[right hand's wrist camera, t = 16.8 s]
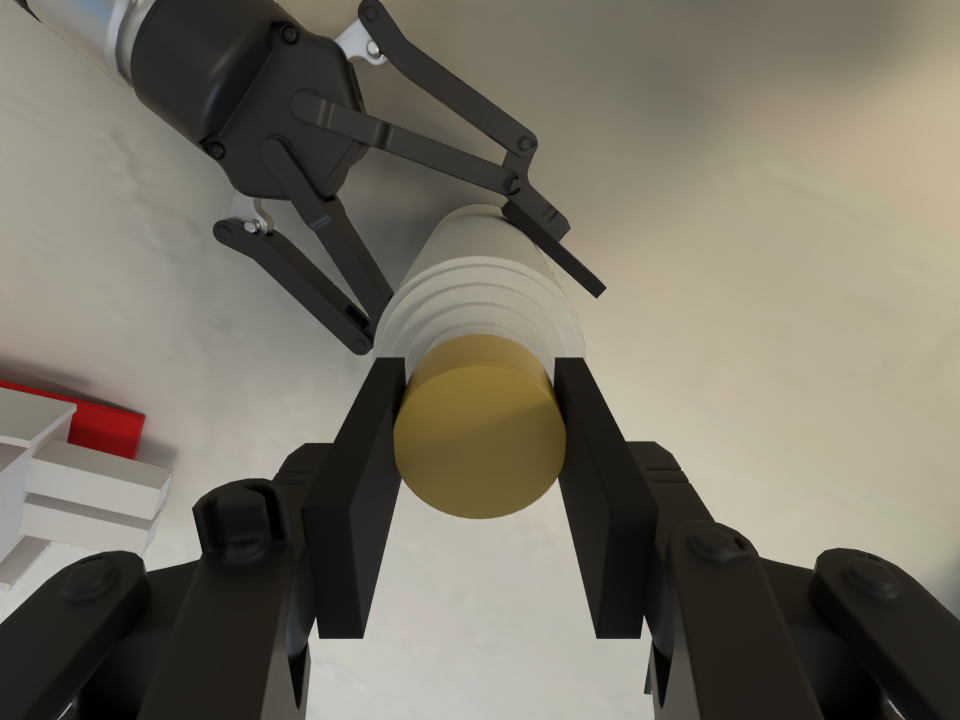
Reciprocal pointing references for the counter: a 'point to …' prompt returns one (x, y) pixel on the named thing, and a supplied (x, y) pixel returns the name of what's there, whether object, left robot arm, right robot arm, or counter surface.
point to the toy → (71, 479)
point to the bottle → (479, 293)
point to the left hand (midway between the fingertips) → (546, 338)
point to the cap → (479, 428)
